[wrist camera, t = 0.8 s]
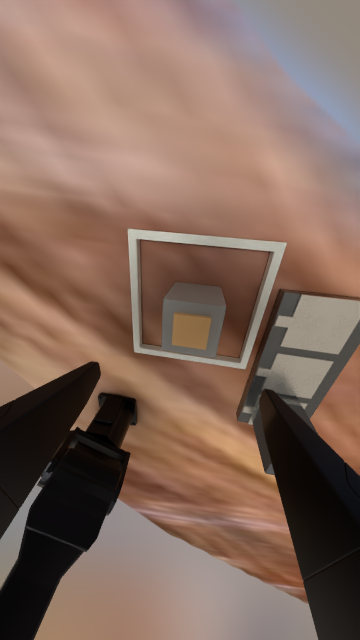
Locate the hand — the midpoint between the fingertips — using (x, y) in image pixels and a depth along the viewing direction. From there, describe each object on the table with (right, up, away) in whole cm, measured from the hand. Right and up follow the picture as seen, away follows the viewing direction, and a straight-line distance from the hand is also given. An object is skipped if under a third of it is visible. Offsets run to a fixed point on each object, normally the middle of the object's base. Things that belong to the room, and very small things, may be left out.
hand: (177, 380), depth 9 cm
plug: (+2, +5, +11) cm, 12 cm away
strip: (+14, -3, +13) cm, 19 cm away
